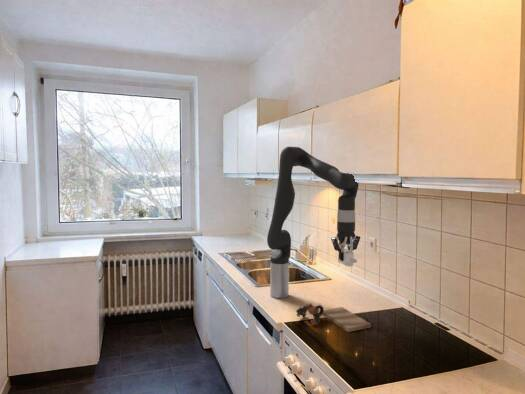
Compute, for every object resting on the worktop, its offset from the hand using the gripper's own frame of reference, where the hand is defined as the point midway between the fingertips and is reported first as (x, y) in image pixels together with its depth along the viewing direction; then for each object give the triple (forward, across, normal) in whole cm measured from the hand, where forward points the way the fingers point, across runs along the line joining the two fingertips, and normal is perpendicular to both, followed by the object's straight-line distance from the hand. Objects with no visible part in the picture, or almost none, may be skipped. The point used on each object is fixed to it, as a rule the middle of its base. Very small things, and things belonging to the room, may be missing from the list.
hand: (345, 259), depth 162 cm
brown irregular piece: (+25, +15, -2) cm, 30 cm away
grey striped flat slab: (+25, +2, +3) cm, 25 cm away
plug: (+2, 0, +1) cm, 2 cm away
